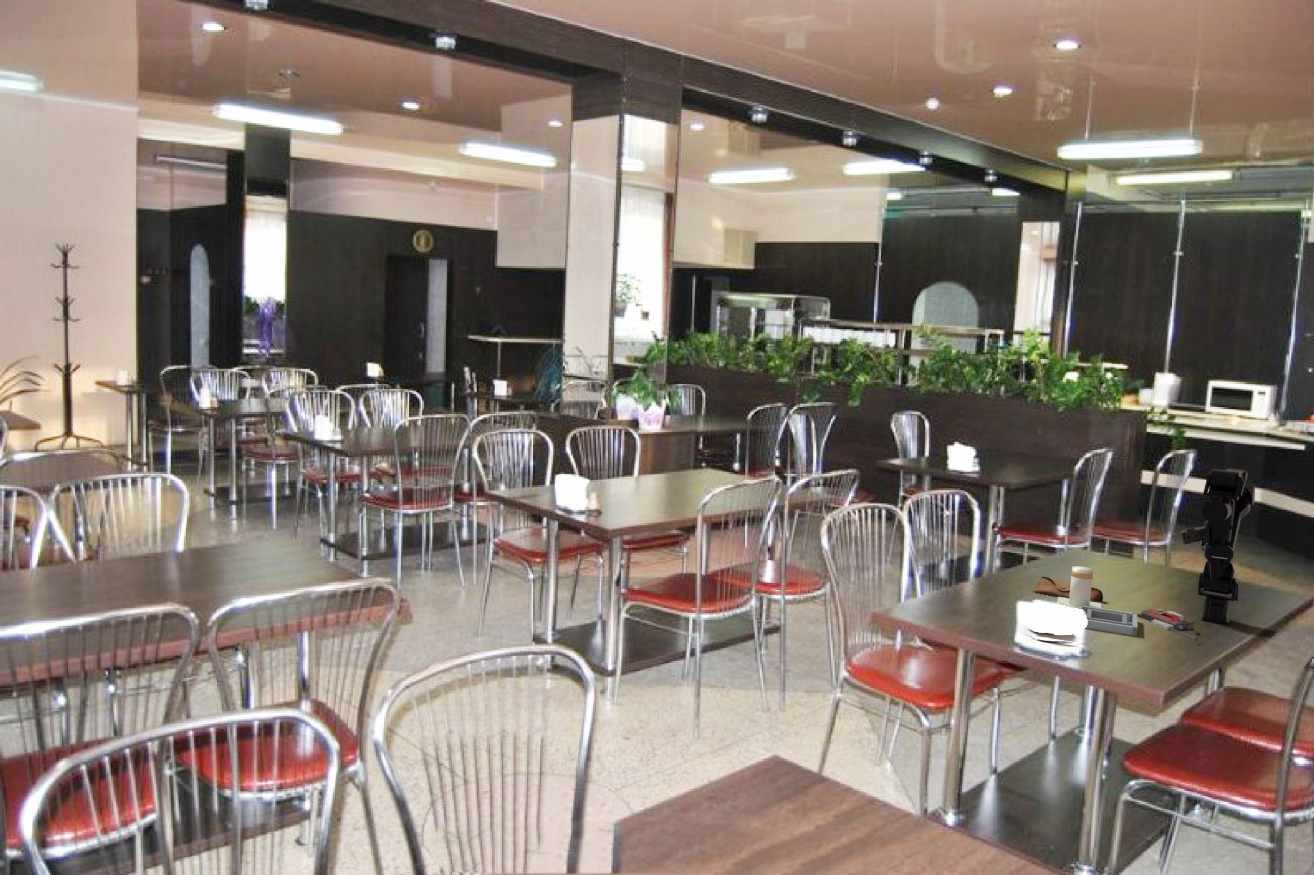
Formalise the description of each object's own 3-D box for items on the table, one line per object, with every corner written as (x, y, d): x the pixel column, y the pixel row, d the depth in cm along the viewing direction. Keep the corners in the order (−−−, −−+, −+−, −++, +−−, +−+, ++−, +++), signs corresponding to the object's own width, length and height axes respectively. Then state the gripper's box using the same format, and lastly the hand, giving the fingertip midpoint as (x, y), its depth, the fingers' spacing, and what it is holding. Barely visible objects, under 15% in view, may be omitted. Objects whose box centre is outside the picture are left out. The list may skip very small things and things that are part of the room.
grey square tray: (1077, 616, 263) (1078, 604, 263) (1135, 625, 257) (1137, 613, 257) (1074, 630, 251) (1075, 618, 250) (1136, 640, 245) (1137, 628, 244)
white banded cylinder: (1075, 601, 274) (1078, 565, 273) (1093, 606, 270) (1097, 569, 269) (1064, 603, 271) (1068, 567, 270) (1083, 608, 267) (1086, 572, 265)
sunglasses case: (1027, 591, 285) (1034, 570, 287) (1035, 600, 290) (1042, 578, 292) (1091, 606, 273) (1098, 583, 275) (1098, 615, 278) (1105, 592, 280)
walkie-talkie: (1128, 621, 262) (1192, 645, 244) (1130, 604, 262) (1194, 628, 243) (1154, 618, 265) (1219, 643, 247) (1156, 602, 265) (1221, 625, 246)
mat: (1058, 600, 278) (1058, 596, 278) (1101, 606, 273) (1101, 603, 273) (1055, 610, 268) (1055, 606, 268) (1100, 617, 263) (1100, 613, 263)
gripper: (1182, 510, 266) (1176, 568, 267) (1185, 519, 249) (1178, 581, 250) (1230, 516, 261) (1223, 575, 262) (1237, 525, 244) (1229, 588, 245)
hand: (1212, 579), depth 255 cm, fingers open, 9 cm apart
